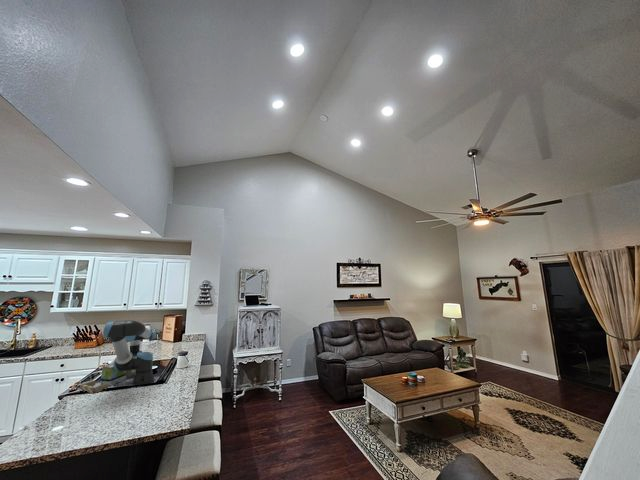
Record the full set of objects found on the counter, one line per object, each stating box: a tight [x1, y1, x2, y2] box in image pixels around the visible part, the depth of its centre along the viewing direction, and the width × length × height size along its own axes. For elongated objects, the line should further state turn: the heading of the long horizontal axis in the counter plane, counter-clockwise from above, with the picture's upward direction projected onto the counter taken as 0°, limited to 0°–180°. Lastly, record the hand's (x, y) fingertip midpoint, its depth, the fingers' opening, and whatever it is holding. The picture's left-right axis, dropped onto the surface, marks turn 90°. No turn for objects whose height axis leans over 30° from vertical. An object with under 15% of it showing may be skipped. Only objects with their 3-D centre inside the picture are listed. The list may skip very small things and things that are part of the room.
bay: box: [79, 380, 109, 394], centre depth 218 cm, size 18×10×4 cm, turn 67°
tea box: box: [99, 362, 127, 386], centre depth 233 cm, size 15×10×15 cm
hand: (133, 371), depth 247 cm, fingers closed
